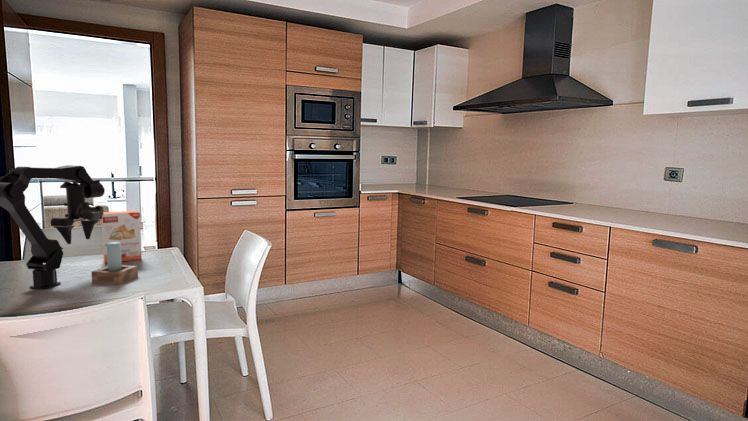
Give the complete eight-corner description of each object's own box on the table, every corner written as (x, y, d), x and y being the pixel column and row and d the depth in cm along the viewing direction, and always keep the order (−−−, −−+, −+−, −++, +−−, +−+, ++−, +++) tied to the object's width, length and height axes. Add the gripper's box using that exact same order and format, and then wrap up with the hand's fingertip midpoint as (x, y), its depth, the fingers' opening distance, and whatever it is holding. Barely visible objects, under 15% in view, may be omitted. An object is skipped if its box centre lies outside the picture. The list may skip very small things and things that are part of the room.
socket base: (119, 284, 164) (118, 273, 163) (92, 282, 165) (91, 271, 165) (137, 276, 174) (137, 265, 174) (112, 274, 175) (111, 264, 175)
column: (116, 278, 167) (115, 244, 165) (105, 278, 168) (103, 244, 166) (125, 275, 171) (123, 242, 170) (113, 274, 172) (112, 241, 170)
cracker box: (104, 264, 191) (101, 213, 188) (103, 260, 196) (100, 211, 193) (142, 260, 199) (140, 211, 196) (140, 257, 204) (138, 210, 201)
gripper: (76, 203, 160) (79, 247, 162) (113, 197, 178) (115, 237, 180) (47, 202, 161) (50, 246, 163) (87, 196, 179) (89, 236, 181)
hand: (78, 241), depth 172 cm, fingers open, 9 cm apart
